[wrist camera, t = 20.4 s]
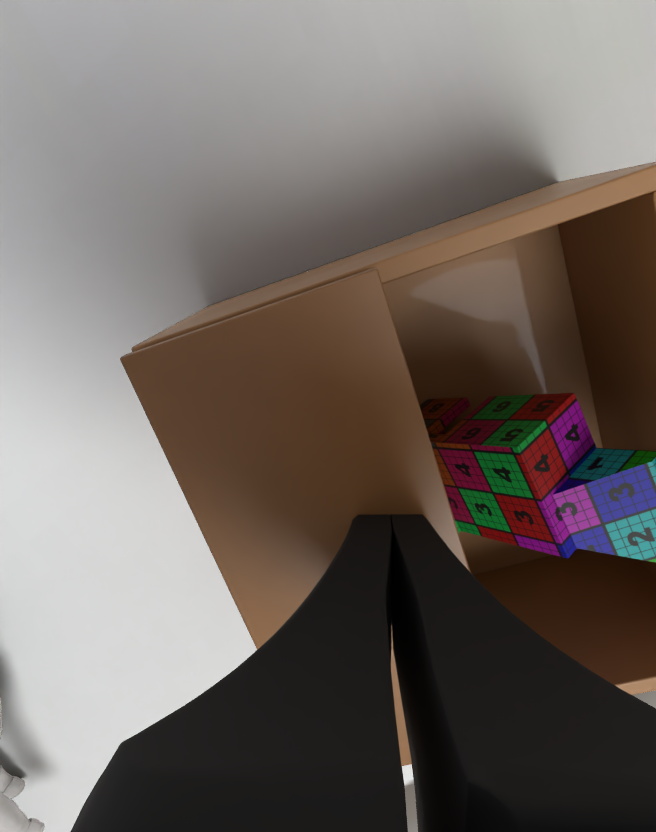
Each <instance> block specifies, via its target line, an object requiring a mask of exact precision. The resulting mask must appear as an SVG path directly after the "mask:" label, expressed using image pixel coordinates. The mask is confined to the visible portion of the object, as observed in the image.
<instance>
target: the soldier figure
mask: <svg viewBox="0 0 656 832" xmlns="http://www.w3.org/2000/svg"><path fill="white" fill-rule="evenodd" d="M2 728H3V725H2V719H1V698H0V738H1V735H2ZM24 786H25V782H24V781H23V780H21V779H20V778H19V777H17V776H11V775H10V774H9V773H7V772H6V771H5V770H4V769H3V768H2V766H1V765H0V832H43V830H44V823H42V822H40V821H39V820H37V819H34V818H30V819H27V817H26V815H25V814H24V813H23V812H22V811H21V810H20V809H19V807H18V806H17V804H16V803H15V802H14V801H13V800H11V799H12V798H14V797H16V796H17V795H19V794H20V793H21V792H22V790H23V789H24ZM9 798H10V799H9Z"/></svg>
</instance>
